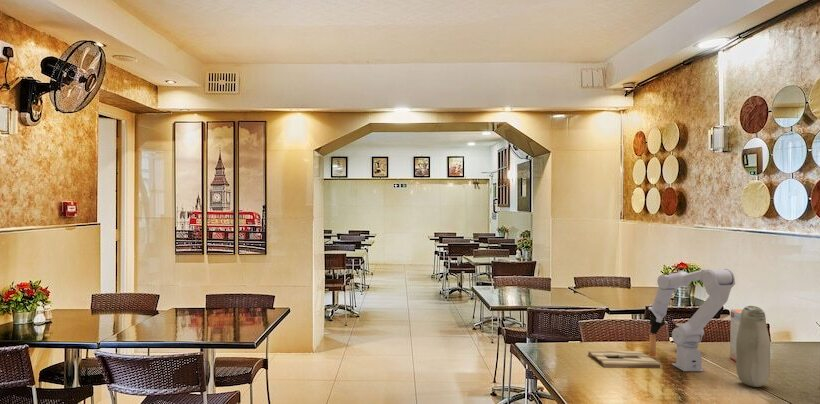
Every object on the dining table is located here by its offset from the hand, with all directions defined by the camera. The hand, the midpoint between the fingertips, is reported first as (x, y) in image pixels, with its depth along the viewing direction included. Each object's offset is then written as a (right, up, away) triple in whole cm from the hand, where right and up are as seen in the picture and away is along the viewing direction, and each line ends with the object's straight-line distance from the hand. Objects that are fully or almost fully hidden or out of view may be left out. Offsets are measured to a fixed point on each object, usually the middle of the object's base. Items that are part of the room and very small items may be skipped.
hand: (652, 328), depth 235 cm
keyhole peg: (-1, -11, -2) cm, 12 cm away
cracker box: (+33, -12, -9) cm, 36 cm away
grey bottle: (+18, -11, -40) cm, 45 cm away
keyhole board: (-17, -11, -11) cm, 23 cm away
